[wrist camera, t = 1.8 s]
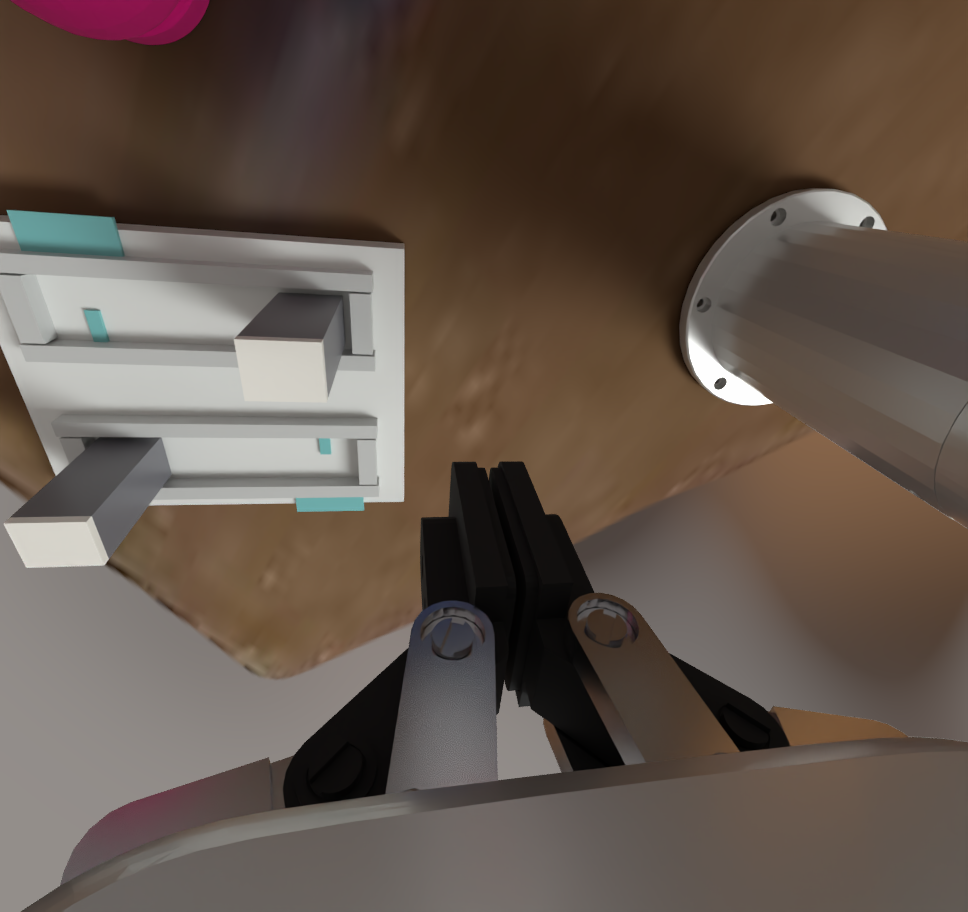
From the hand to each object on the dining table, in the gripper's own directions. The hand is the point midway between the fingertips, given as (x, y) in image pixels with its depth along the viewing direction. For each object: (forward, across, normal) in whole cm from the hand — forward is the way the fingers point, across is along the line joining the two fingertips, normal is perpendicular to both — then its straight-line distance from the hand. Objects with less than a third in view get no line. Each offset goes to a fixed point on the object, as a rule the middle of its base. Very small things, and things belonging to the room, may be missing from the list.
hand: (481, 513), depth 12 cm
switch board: (+18, +11, +4) cm, 22 cm away
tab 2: (+16, +6, 0) cm, 17 cm away
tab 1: (+16, +16, +8) cm, 24 cm away
